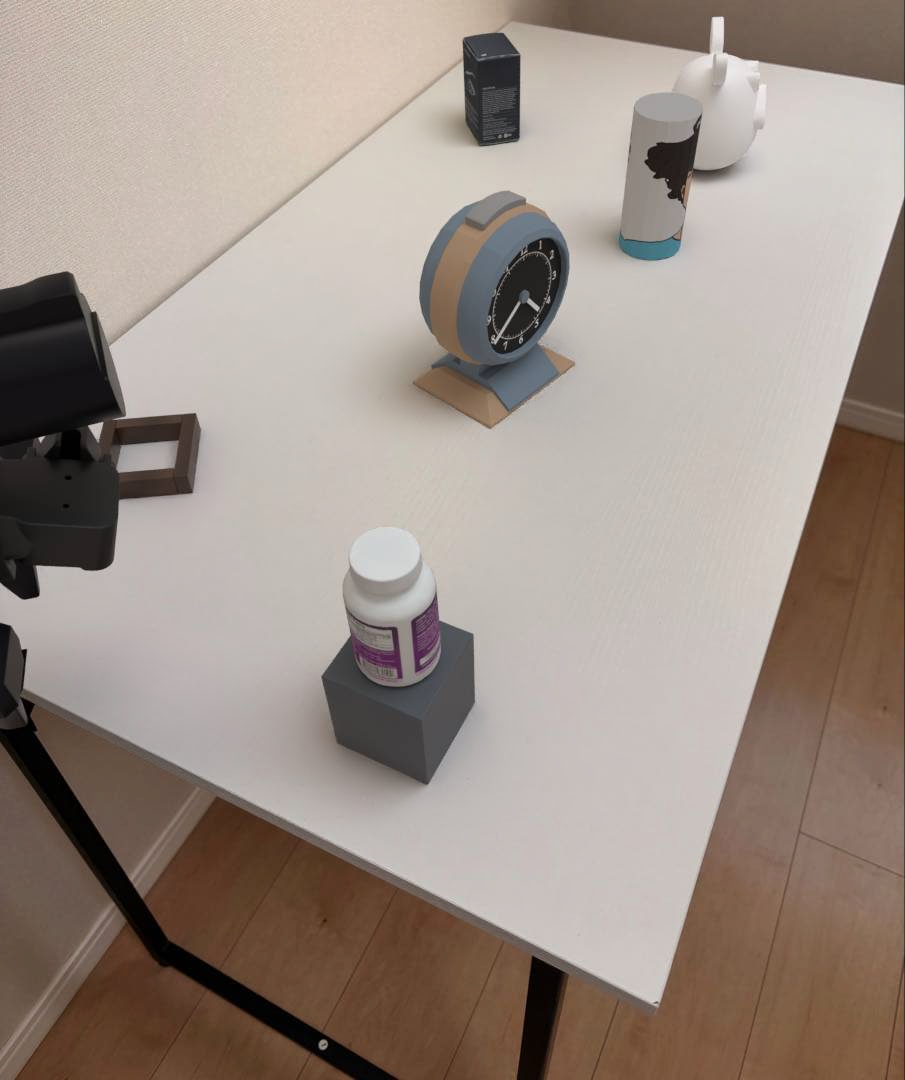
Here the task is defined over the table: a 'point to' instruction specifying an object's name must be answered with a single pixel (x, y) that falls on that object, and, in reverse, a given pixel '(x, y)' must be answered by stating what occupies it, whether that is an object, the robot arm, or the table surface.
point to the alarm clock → (494, 305)
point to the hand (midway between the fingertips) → (25, 657)
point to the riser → (403, 707)
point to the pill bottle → (392, 607)
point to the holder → (152, 431)
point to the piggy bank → (724, 102)
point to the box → (492, 88)
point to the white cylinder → (659, 174)
